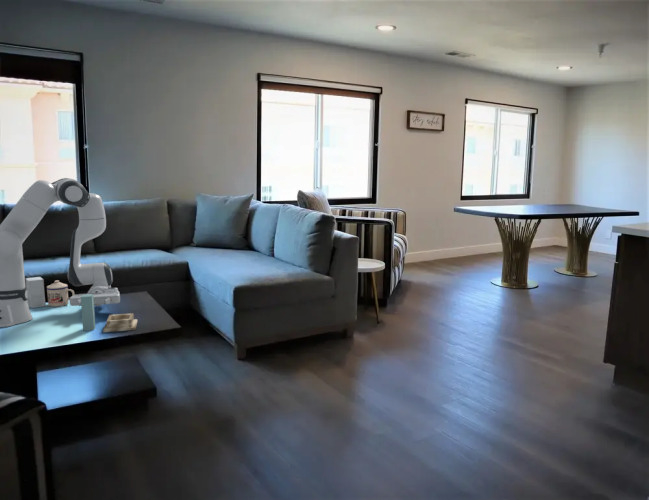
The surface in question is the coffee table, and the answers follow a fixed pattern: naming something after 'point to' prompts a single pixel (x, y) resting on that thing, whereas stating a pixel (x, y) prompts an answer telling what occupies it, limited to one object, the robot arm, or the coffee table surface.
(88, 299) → the post
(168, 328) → the coffee table surface
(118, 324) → the socket
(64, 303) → the teacup with lid
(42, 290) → the small box
